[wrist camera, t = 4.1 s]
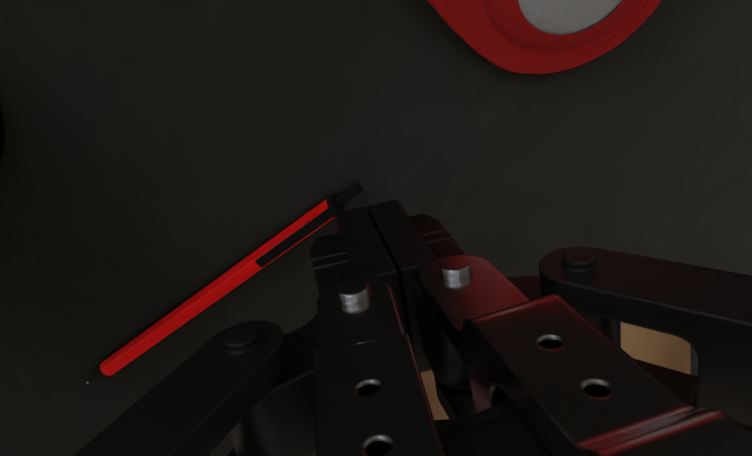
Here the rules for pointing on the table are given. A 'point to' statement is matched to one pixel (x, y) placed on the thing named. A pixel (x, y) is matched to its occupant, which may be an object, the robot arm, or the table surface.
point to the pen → (225, 283)
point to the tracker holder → (543, 29)
